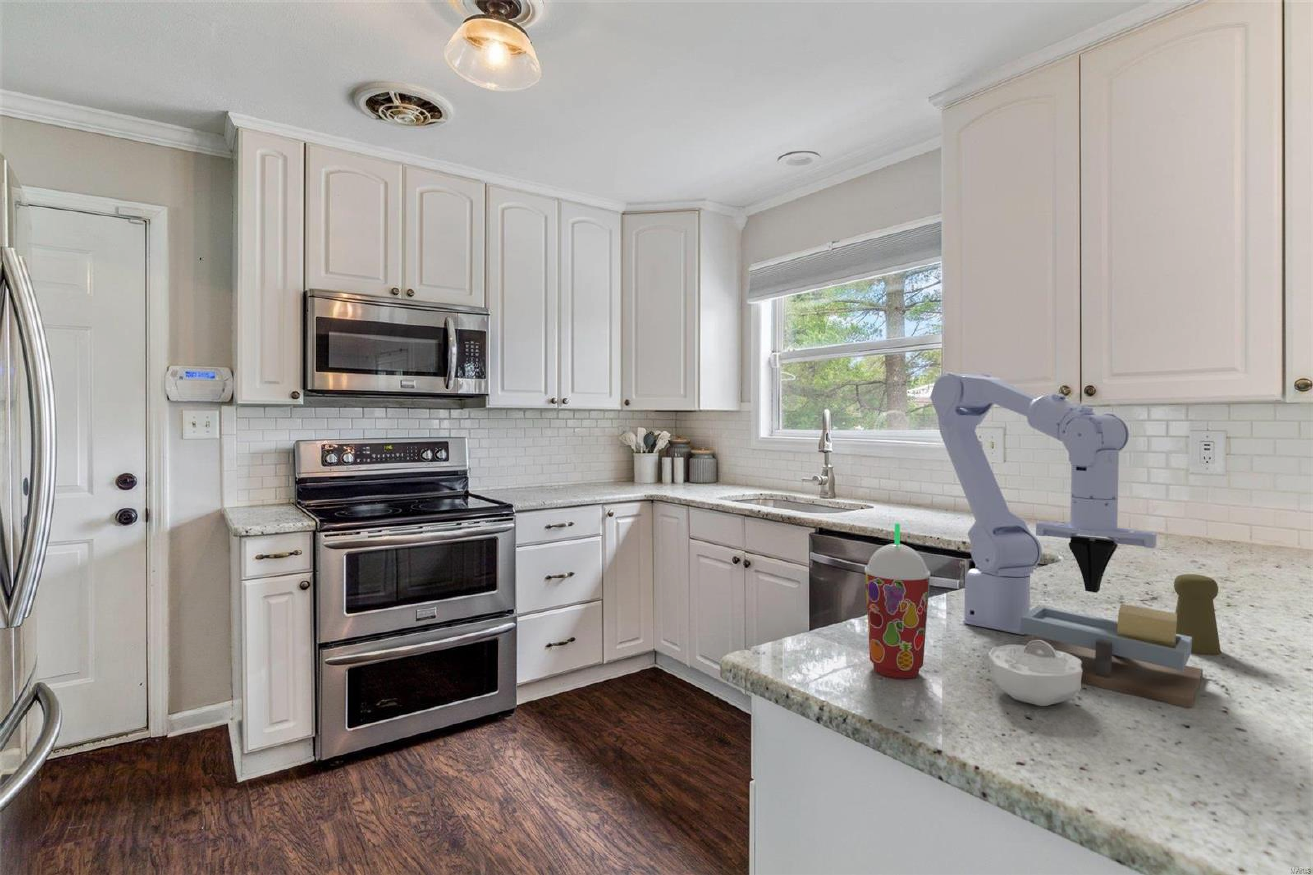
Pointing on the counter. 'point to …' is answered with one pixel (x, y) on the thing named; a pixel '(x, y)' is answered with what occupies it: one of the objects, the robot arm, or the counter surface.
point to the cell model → (1036, 672)
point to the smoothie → (897, 609)
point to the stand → (1132, 674)
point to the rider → (1147, 625)
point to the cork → (1197, 612)
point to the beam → (1102, 636)
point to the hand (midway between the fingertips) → (1092, 590)
